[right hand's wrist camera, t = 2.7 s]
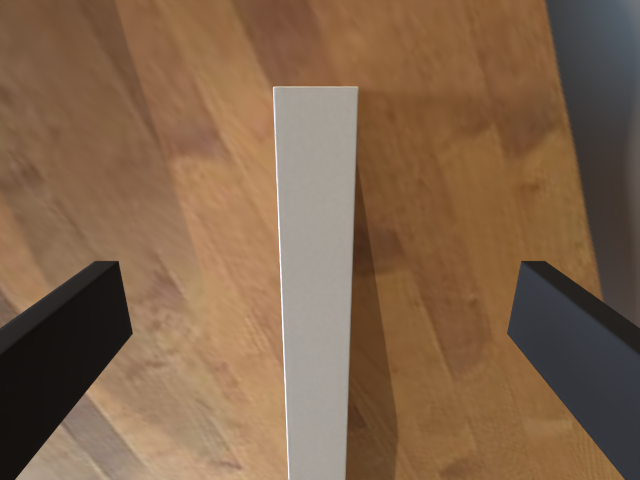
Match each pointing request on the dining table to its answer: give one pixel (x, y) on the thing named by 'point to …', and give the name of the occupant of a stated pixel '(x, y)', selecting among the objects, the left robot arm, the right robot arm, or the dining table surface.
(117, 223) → the dining table surface
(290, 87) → the post
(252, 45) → the dining table surface
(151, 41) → the dining table surface
